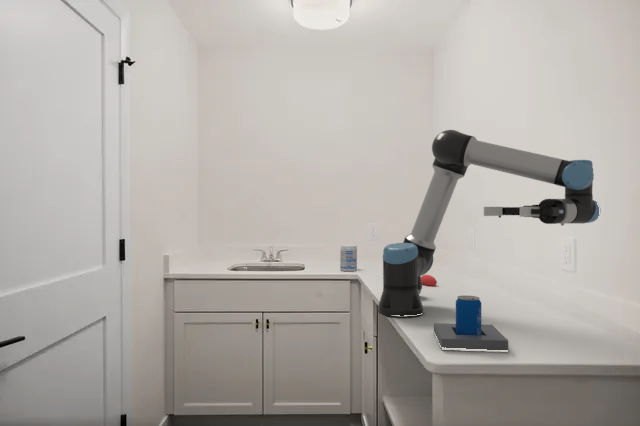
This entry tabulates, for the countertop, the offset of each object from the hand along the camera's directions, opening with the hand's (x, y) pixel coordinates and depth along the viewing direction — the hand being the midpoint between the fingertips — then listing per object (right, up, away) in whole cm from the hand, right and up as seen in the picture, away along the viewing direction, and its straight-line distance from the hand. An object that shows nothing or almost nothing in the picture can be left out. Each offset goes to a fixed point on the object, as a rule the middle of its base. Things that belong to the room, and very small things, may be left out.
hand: (501, 211), depth 132 cm
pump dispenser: (-15, -35, +56) cm, 68 cm away
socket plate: (-12, -35, -9) cm, 38 cm away
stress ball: (-1, -34, +85) cm, 92 cm away
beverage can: (-12, -35, -9) cm, 38 cm away
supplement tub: (-35, -34, +137) cm, 146 cm away
